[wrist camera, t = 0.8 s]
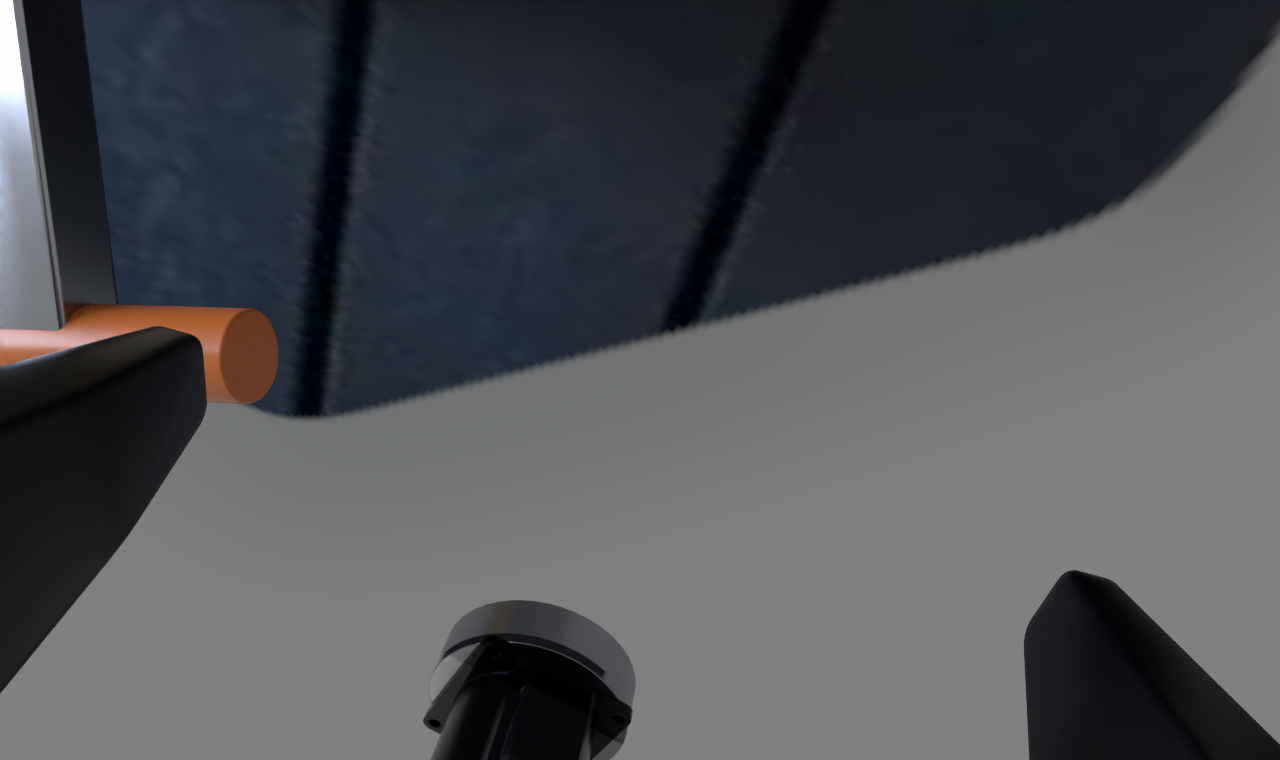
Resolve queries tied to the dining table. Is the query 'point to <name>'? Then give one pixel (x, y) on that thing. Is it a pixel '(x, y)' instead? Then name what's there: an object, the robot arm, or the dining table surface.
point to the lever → (83, 218)
